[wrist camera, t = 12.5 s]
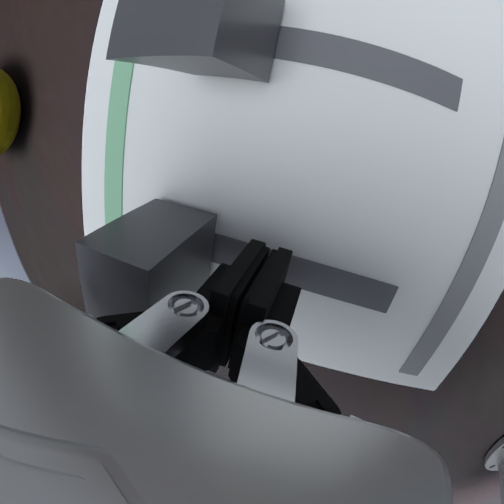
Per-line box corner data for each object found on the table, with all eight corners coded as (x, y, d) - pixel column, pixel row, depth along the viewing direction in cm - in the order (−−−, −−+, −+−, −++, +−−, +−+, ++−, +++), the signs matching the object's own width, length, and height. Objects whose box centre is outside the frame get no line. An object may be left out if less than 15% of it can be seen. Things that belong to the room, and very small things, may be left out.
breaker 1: (285, 0, 8) (242, -68, 3) (268, 82, 9) (212, 56, 5) (209, -2, 8) (134, -50, 4) (193, 75, 10) (105, 59, 6)
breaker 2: (217, 214, 12) (148, 270, 8) (208, 284, 14) (152, 356, 9) (156, 198, 13) (74, 242, 8) (153, 265, 14) (88, 323, 10)
